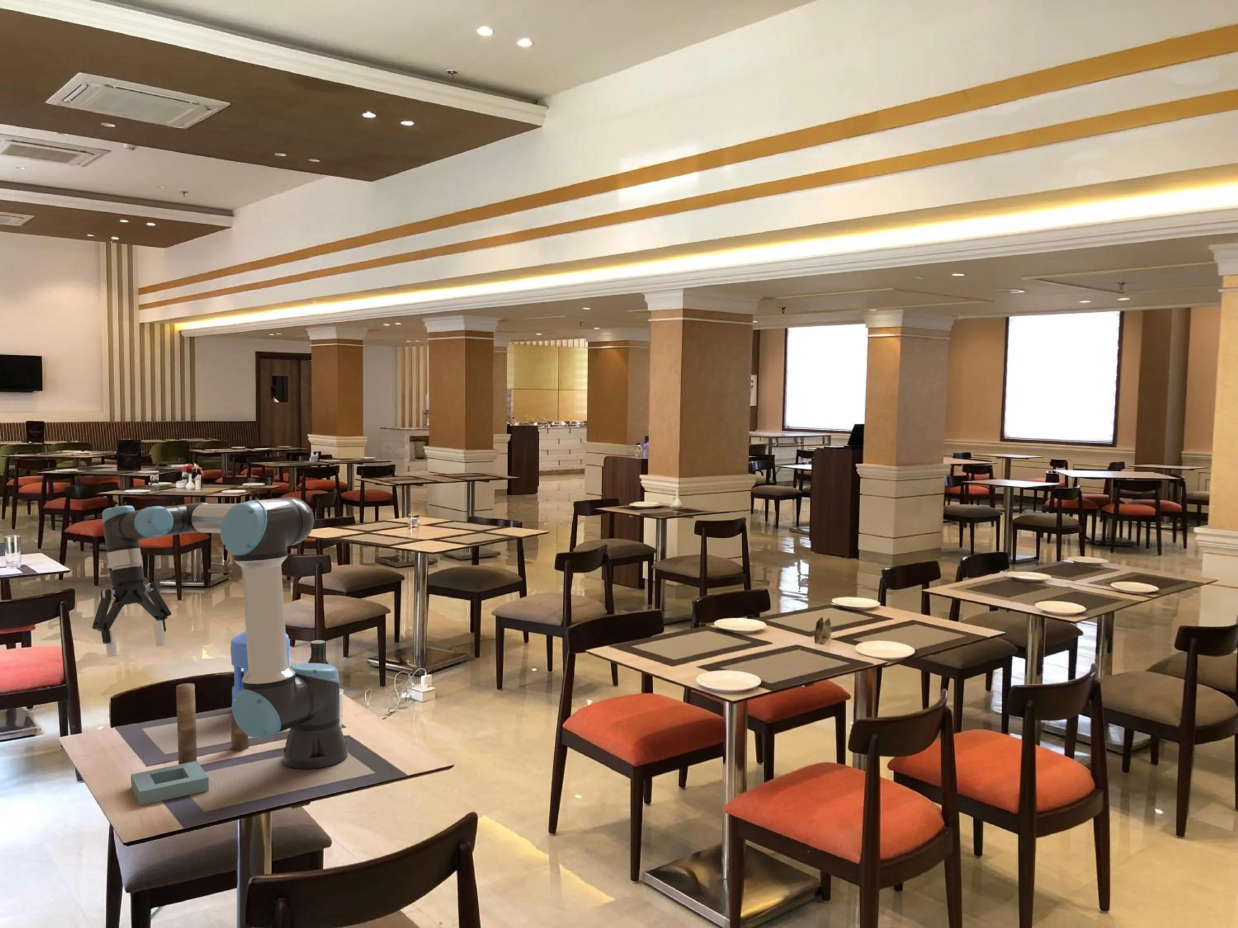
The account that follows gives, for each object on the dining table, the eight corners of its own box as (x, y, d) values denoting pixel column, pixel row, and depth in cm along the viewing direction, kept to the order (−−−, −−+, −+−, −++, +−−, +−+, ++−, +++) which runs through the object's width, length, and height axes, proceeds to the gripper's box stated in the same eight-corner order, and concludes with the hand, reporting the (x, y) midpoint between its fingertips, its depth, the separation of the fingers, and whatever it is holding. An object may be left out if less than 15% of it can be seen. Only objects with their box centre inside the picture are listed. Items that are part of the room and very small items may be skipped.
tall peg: (200, 766, 229) (198, 684, 228) (186, 772, 225) (184, 688, 224) (188, 763, 231) (186, 682, 229) (174, 769, 227) (172, 686, 226)
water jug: (279, 697, 282) (276, 604, 280) (299, 710, 270) (297, 613, 268) (224, 708, 272) (222, 611, 271) (242, 722, 260) (240, 621, 258)
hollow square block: (131, 786, 217) (130, 773, 216) (197, 773, 225) (197, 760, 224) (140, 805, 207) (139, 791, 207) (208, 790, 215) (208, 777, 215)
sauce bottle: (304, 715, 266) (303, 645, 265) (305, 708, 272) (304, 639, 271) (329, 713, 268) (328, 643, 267) (329, 706, 274) (328, 638, 273)
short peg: (251, 746, 242) (251, 711, 241) (239, 751, 238) (238, 716, 238) (240, 744, 244) (239, 709, 243) (227, 749, 240) (226, 714, 240)
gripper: (159, 563, 254) (170, 643, 253) (69, 575, 232) (80, 662, 231) (178, 560, 251) (189, 640, 250) (88, 571, 229) (100, 659, 227)
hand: (137, 651), depth 240 cm, fingers open, 13 cm apart
